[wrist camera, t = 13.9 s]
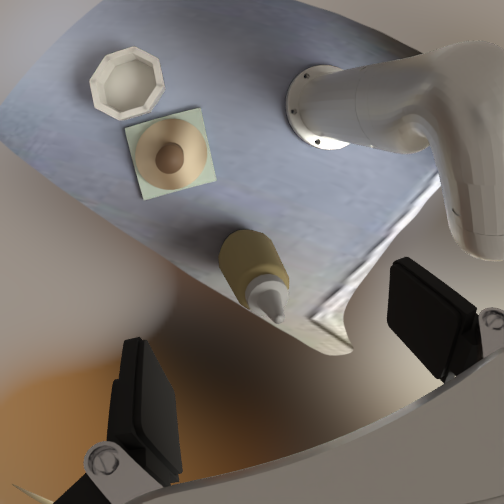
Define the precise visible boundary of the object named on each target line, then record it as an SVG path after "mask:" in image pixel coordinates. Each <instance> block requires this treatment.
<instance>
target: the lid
mask: <svg viewBox="0 0 504 504" xmlns="http://www.w3.org/2000/svg"><path fill="white" fill-rule="evenodd" d="M135 160H136V165H137V168H138V170H139V172H140V174H141V176H142V177H143V178H144V179H145V180H146V181H147V182H148V183H150V184H151V185H153V186H155V187H157V188H160V189H164V190H175V189H180V188H183V187H185V186H187V185H189V184H191V183H192V182H193V181H195V180H196V179H197V178H198V177H199V175H200V174H201V173H202V171H203V169H204V167H205V164H206V160H207V146H206V142H205V139H204V137H203V136H202V134H201V133H200V131H199V130H198V129H197V128H196V127H195V126H193V125H192V124H190V123H188V122H186V121H184V120H180V119H166V120H162V121H159V122H157V123H155V124H153V125H151V126H150V127H149V128H147V129H146V131H145V132H144V133H143V134H142V135H141V137H140V139H139V141H138V143H137V146H136V151H135Z"/></svg>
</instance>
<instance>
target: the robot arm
mask: <svg viewBox="0 0 504 504" xmlns="http://www.w3.org/2000/svg"><path fill="white" fill-rule="evenodd" d="M304 75H305V76H306V78H304ZM291 110H293V113H291ZM286 113H287V117H288V120H289V123H290V125H291V127H292V129H293V130H294V132H295V133H296V134H297V135H298V137H300V138H301V139H302V140H303V141H304V142H306V143H307V144H309V145H311V146H313V147H316V148H319V149H324V150H335V149H340V148H343V147H345V146H347V145H349V144H350V143H351V144H356V145H361V146H365V147H370V148H375V149H379V150H383V151H388V152H393V153H397V154H412V153H416V152H419V151H422V150H423V149H425V148H427V147H428V146H430V147H431V150H432V153H433V156H434V160H435V164H436V167H437V169H438V173H439V177H440V182H441V187H442V192H443V197H444V202H445V208H446V213H447V219H448V223H449V227H450V231H451V234H452V236H453V238H454V240H455V242H456V243H457V244H458V246H459V247H460V248H461V249H462V250H463V251H464V252H466V253H467V254H469V255H471V256H473V257H475V258H478V259H482V260H487V261H504V49H503V48H501V47H500V46H498V45H495V44H493V43H489V42H485V41H466V42H460V43H455V44H452V45H449V46H446V47H442V48H439V49H436V50H433V51H430V52H428V53H424V54H421V55H417V56H414V57H409V58H405V59H400V60H394V61H389V62H383V63H378V64H372V65H367V66H361V67H356V68H352V69H347V70H342V69H340V68H338V67H335V66H331V65H318V66H313V67H310V68H308V69H306V70H304V71H302V72H301V73H300V74H299V75H297V76H296V77H295V79H294V80H293V81H292V83H291V85H290V87H289V89H288V92H287V96H286ZM315 140H316V143H315ZM476 310H477V308H476V307H475V306H474V305H473V304H471V303H470V302H469V301H467V300H466V299H465V298H464V297H462V296H461V295H460V294H458V293H457V292H456V291H454V290H453V289H452V288H450V287H449V286H448V285H447V284H445V283H444V282H442V281H441V280H440V279H438V278H437V277H436V276H434V275H433V274H431V273H430V272H429V271H427V270H426V269H425V268H423V267H422V266H420V265H419V264H418V263H416V262H415V261H413V260H412V259H410V258H409V257H404V258H401V259H398V260H396V261H394V262H393V266H391V268H390V284H389V299H388V311H387V323H388V326H389V327H390V328H391V330H393V332H394V333H395V334H397V336H398V337H399V338H400V339H401V340H402V341H403V342H404V343H405V345H406V346H407V347H408V348H409V349H410V350H411V351H412V352H413V353H414V355H415V356H416V357H417V358H418V359H419V360H420V361H421V362H422V363H423V364H424V366H425V367H426V368H427V369H428V370H429V371H430V372H431V373H432V375H433V376H434V377H435V378H436V379H440V380H441V381H442V382H443V383H444V384H443V385H442V386H440V387H438V388H437V389H435V390H433V391H432V392H430V393H428V394H427V395H425V396H423V397H421V398H420V399H418V400H416V401H415V402H413V403H411V404H409V405H407V406H405V407H403V408H401V409H400V410H398V411H396V412H394V413H392V414H390V415H388V416H386V417H384V418H382V419H380V420H378V421H376V422H374V423H371V424H369V425H367V426H365V427H363V428H360V429H358V430H356V431H354V432H351V433H349V434H347V435H345V436H342V437H339V438H337V439H335V440H332V441H329V442H327V443H324V444H322V445H319V446H316V447H314V448H311V449H308V450H305V451H303V452H300V453H297V454H294V455H291V456H288V457H284V458H281V459H278V460H275V461H271V462H268V463H265V464H261V465H257V466H254V467H250V468H246V469H243V470H238V471H235V472H231V473H226V474H222V475H218V476H213V477H208V478H204V479H199V480H194V481H190V482H185V483H180V484H176V485H172V486H171V484H170V483H174V482H179V477H178V474H180V473H182V471H183V470H182V461H181V453H180V446H179V445H180V444H179V434H178V424H177V413H176V401H175V394H174V390H173V388H172V386H171V384H170V382H169V381H168V379H167V377H166V375H165V373H164V372H163V370H162V368H161V366H160V364H159V362H158V360H157V359H156V357H155V355H154V353H153V351H152V349H151V347H150V345H149V343H148V341H147V340H142V339H141V338H140V337H137V338H132V339H128V340H125V341H124V344H123V351H122V358H121V365H120V373H119V379H116V380H114V381H113V385H112V393H111V400H110V409H109V419H108V429H107V441H103V442H100V443H97V444H95V445H94V446H92V447H91V448H90V449H89V450H88V451H87V453H86V455H85V457H84V469H85V471H86V473H85V474H84V475H83V476H82V477H81V478H80V479H79V480H78V481H77V482H76V483H75V484H74V485H73V486H71V487H70V488H69V489H68V490H67V491H66V492H65V493H64V494H63V495H62V496H61V497H60V498H58V500H56V501H55V502H54V503H53V504H504V311H503V310H501V309H498V308H493V307H492V308H486V309H484V310H482V311H481V312H480V314H479V315H478V314H477V313H476ZM455 376H456V377H455Z"/></svg>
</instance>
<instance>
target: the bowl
mask: <svg viewBox="0 0 504 504" xmlns="http://www.w3.org/2000/svg"><path fill="white" fill-rule="evenodd" d="M89 82H90V87H91V92H92V97H93V102H94V107H95V108H96V109H98V110H100V111H102V112H104V113H106V114H108V115H110V116H111V117H113V118H115V119H117V120H122V121H125V120H128V119H131V118H135V117H139V116H142V115H144V114H148V113H151V111H152V110H153V108H154V107H155V106H156V104H157V103H158V102H159V100H160V98H161V96H162V94H163V93H164V91H165V90H166V89H165V84H164V79H163V75H162V70H161V65H160V61H159V59H158V58H156V57H154V56H152V55H151V54H149V53H147V52H145V51H143V50H141V49H139V48H137V47H135V46H133V47H130V48H127V49H123V50H120V51H117V52H114V53H111V54H108V55H105V57H104V58H103V60H102V61H101V63H100V65H99V66H98V68H97V69H96V71H95V72H94V74H93V76H92V77H91V79H90V81H89Z"/></svg>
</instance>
